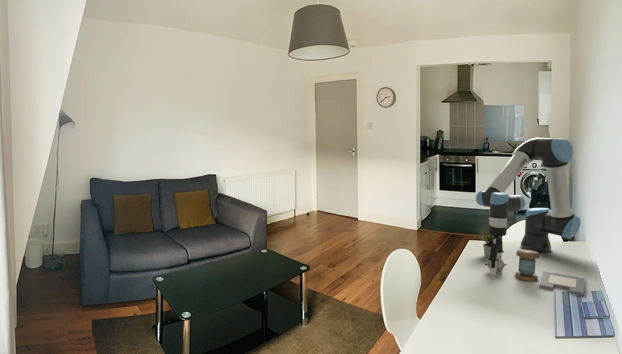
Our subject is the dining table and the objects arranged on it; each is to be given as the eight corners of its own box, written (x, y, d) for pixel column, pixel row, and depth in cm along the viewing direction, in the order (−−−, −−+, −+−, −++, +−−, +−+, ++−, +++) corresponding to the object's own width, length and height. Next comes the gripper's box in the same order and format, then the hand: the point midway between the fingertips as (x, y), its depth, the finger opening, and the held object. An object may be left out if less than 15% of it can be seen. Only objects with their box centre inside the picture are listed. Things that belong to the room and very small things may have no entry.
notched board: (543, 274, 192) (543, 270, 192) (584, 281, 183) (584, 277, 183) (539, 288, 175) (539, 284, 175) (584, 296, 166) (584, 292, 166)
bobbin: (516, 273, 193) (518, 248, 192) (538, 277, 188) (540, 251, 187) (513, 279, 186) (515, 253, 184) (536, 283, 181) (538, 256, 179)
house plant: (471, 258, 215) (472, 227, 213) (474, 251, 228) (475, 222, 226) (501, 262, 209) (502, 230, 207) (502, 254, 221) (504, 225, 219)
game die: (497, 281, 192) (503, 269, 186) (480, 272, 197) (485, 260, 190) (506, 269, 197) (511, 256, 190) (488, 259, 201) (493, 247, 194)
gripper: (494, 219, 204) (491, 261, 206) (483, 230, 183) (481, 276, 185) (510, 221, 199) (508, 264, 202) (502, 232, 179) (499, 279, 181)
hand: (495, 270), depth 194 cm, fingers open, 13 cm apart
